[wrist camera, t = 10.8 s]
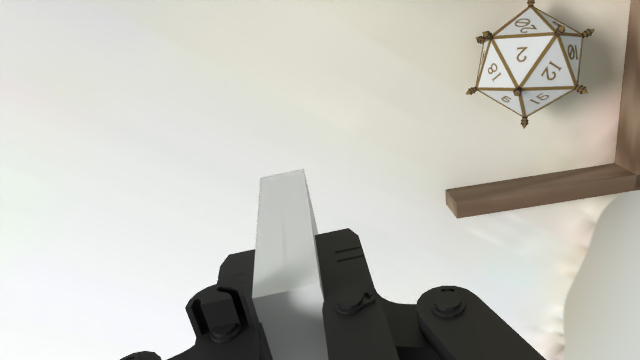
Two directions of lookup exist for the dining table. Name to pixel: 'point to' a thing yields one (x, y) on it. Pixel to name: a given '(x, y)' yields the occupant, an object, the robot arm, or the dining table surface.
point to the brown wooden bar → (622, 176)
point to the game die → (530, 62)
